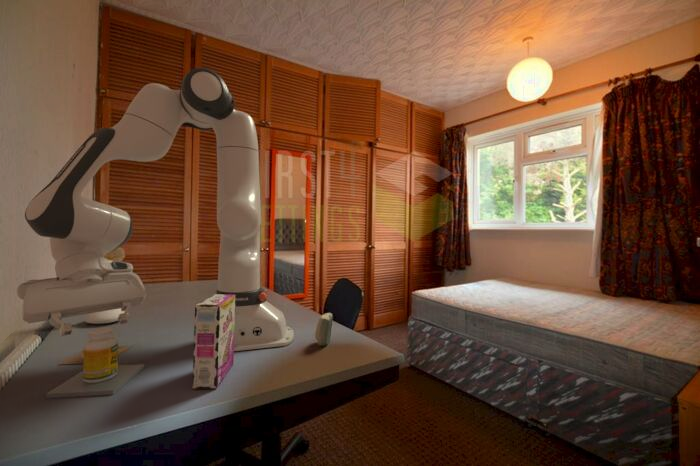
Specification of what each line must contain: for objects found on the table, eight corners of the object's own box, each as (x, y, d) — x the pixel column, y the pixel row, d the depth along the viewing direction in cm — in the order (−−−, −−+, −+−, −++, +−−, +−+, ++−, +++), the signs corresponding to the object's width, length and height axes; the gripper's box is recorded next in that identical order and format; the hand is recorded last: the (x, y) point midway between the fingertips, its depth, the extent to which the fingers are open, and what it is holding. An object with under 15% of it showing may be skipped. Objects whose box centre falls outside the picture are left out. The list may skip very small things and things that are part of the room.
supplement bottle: (86, 374, 62) (87, 327, 62) (119, 369, 65) (120, 324, 65) (80, 386, 57) (80, 336, 57) (115, 380, 60) (116, 331, 60)
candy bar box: (218, 389, 59) (219, 305, 59) (191, 390, 58) (192, 305, 58) (235, 364, 70) (236, 293, 70) (212, 364, 70) (213, 293, 70)
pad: (144, 367, 67) (144, 364, 67) (113, 394, 56) (113, 390, 56) (89, 370, 66) (89, 366, 66) (46, 398, 55) (46, 393, 55)
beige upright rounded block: (337, 346, 82) (337, 316, 82) (318, 349, 80) (319, 318, 80) (330, 339, 87) (330, 311, 87) (312, 341, 85) (313, 313, 85)
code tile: (132, 346, 79) (132, 345, 79) (107, 362, 69) (107, 362, 69) (89, 347, 78) (89, 347, 78) (58, 364, 68) (58, 364, 68)
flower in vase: (74, 324, 96) (75, 245, 96) (112, 315, 107) (113, 244, 107) (104, 329, 92) (105, 246, 92) (140, 319, 103) (141, 245, 103)
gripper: (17, 271, 59) (25, 332, 53) (139, 263, 75) (155, 308, 70) (14, 291, 62) (21, 351, 56) (132, 279, 78) (147, 324, 72)
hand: (97, 327), depth 63 cm, fingers open, 8 cm apart
